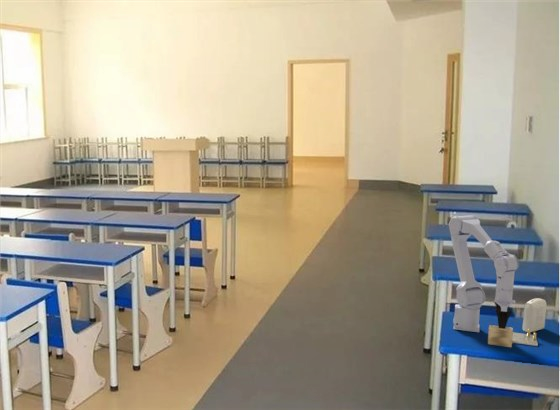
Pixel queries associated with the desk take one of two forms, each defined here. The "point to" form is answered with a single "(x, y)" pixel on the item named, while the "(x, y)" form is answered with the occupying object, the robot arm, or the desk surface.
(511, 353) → the desk surface
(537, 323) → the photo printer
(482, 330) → the desk surface
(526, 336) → the plate
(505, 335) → the board
